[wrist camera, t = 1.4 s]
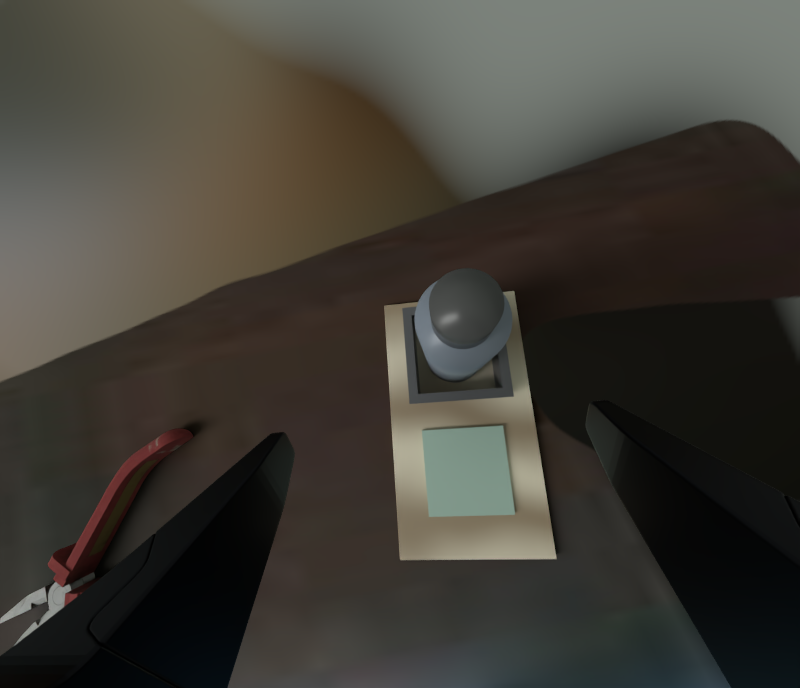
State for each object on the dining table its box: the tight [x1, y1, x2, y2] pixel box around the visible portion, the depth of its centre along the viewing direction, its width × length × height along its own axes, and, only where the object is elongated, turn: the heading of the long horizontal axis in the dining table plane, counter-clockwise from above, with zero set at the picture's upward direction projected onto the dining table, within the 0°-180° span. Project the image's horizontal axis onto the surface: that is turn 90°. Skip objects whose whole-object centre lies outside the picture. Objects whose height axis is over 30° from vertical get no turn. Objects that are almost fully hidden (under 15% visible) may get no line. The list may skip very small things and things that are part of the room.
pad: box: [422, 425, 515, 517], centre depth 20 cm, size 6×6×1 cm
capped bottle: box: [415, 268, 512, 383], centre depth 16 cm, size 4×4×12 cm
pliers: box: [0, 429, 193, 645], centre depth 22 cm, size 11×20×3 cm, turn 126°
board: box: [384, 291, 557, 560], centre depth 21 cm, size 18×10×1 cm, turn 4°
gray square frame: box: [402, 306, 514, 404], centre depth 21 cm, size 7×7×2 cm
